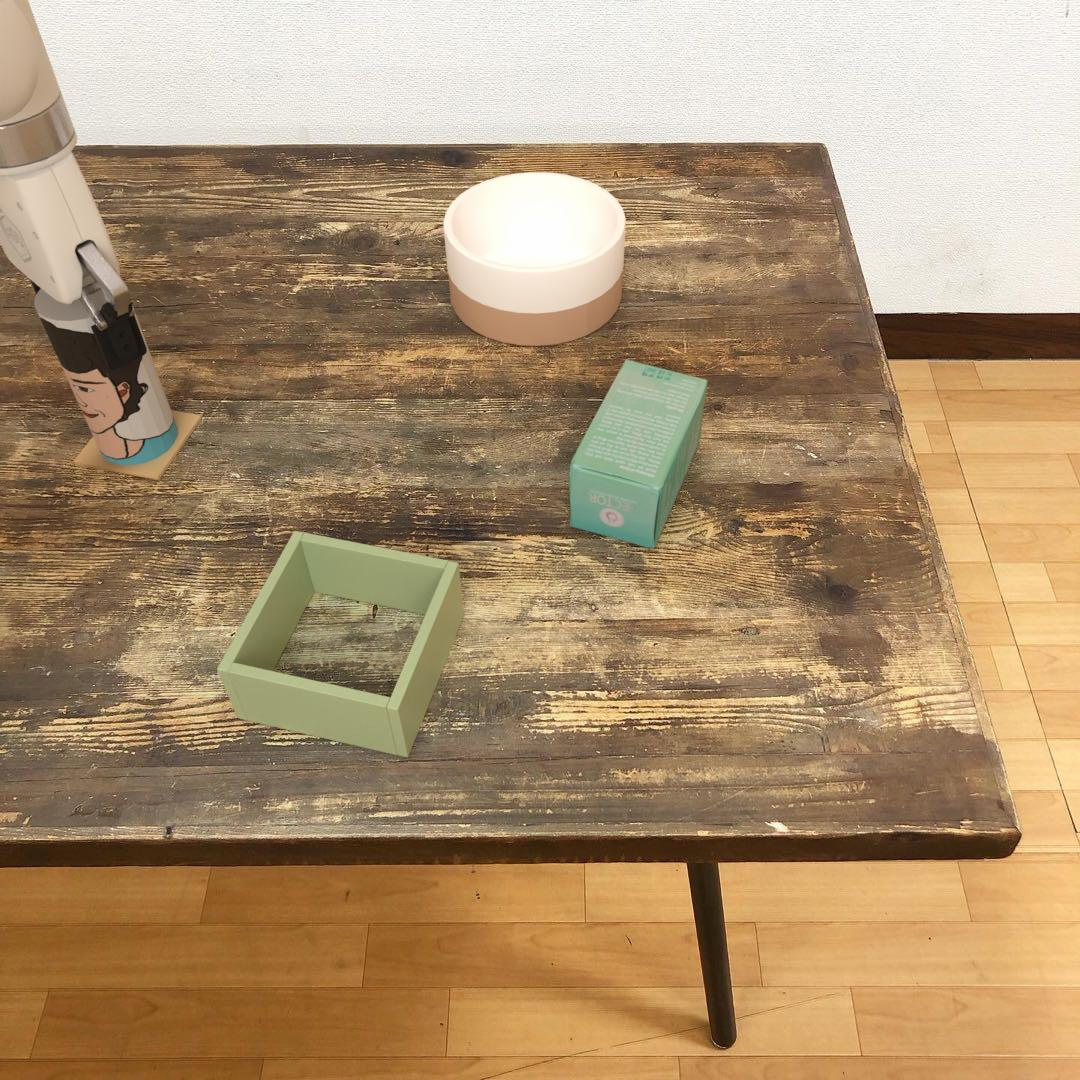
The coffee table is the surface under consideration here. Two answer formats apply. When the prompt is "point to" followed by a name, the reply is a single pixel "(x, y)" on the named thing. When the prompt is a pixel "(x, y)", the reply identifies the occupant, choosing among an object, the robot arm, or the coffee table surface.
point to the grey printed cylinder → (109, 385)
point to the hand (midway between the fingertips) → (95, 333)
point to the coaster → (149, 469)
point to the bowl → (535, 257)
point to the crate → (356, 578)
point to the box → (636, 453)
